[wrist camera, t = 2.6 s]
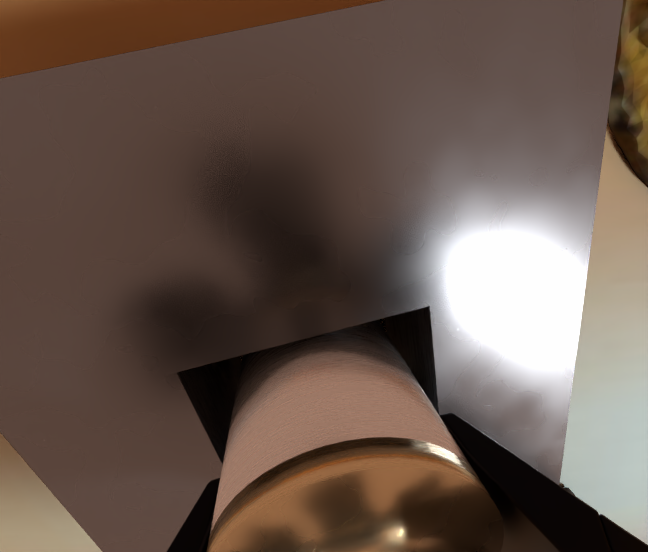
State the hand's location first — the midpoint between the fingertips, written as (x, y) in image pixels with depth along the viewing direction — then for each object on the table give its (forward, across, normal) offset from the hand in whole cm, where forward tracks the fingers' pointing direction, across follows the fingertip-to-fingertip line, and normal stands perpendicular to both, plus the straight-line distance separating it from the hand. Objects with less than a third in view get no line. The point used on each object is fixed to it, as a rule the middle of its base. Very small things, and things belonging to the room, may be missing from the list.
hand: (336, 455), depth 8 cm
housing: (+6, 0, 0) cm, 6 cm away
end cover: (+6, 0, 0) cm, 6 cm away
